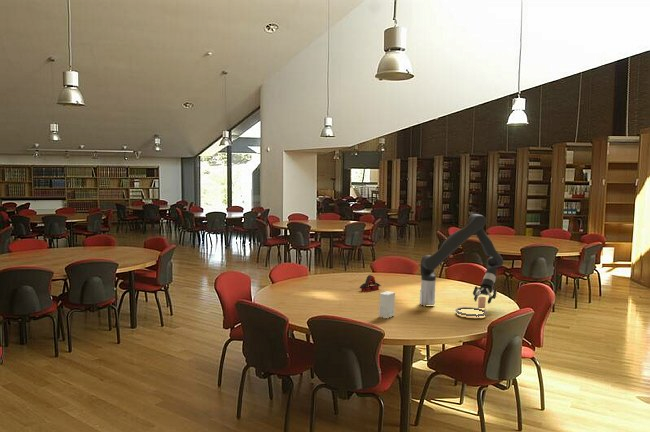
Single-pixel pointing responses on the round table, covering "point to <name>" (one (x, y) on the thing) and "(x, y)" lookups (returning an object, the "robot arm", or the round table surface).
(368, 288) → the logo sign
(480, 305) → the clay spool
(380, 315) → the skincare box
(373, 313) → the round table surface
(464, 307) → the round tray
